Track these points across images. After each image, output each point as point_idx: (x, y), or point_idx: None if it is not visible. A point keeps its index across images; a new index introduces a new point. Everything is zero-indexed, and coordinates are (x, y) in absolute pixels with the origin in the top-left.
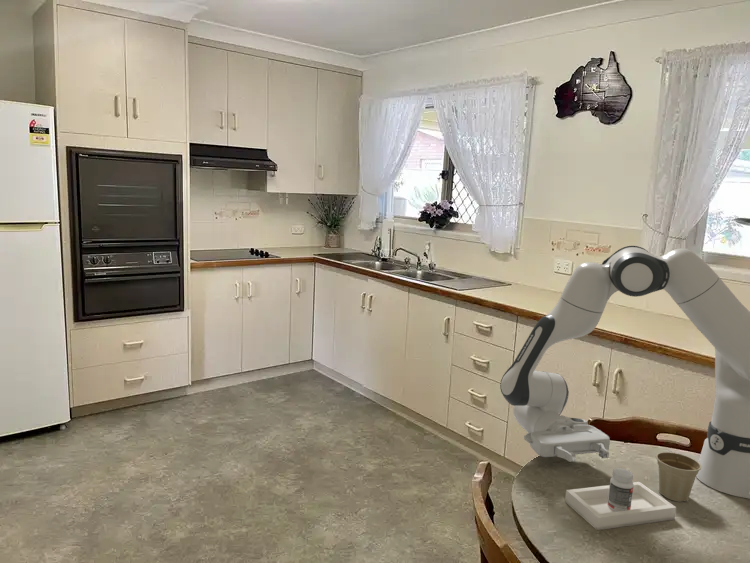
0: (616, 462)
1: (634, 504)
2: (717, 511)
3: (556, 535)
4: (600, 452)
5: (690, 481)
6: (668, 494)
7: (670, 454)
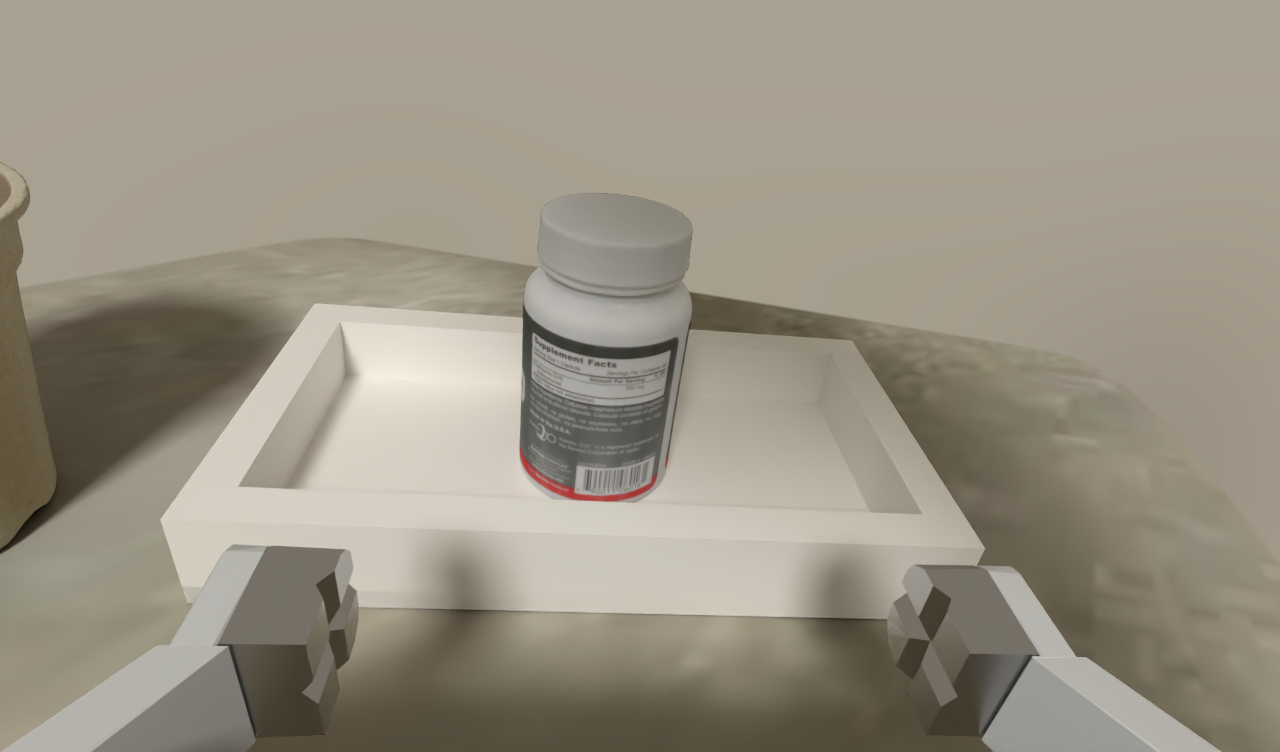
0: None
1: (446, 463)
2: None
3: (1052, 416)
4: (323, 649)
5: None
6: (48, 457)
7: None
